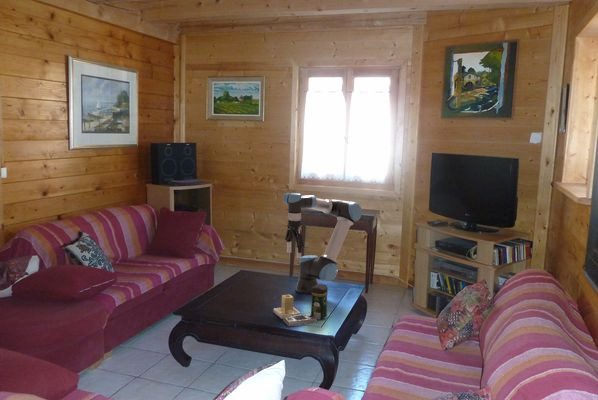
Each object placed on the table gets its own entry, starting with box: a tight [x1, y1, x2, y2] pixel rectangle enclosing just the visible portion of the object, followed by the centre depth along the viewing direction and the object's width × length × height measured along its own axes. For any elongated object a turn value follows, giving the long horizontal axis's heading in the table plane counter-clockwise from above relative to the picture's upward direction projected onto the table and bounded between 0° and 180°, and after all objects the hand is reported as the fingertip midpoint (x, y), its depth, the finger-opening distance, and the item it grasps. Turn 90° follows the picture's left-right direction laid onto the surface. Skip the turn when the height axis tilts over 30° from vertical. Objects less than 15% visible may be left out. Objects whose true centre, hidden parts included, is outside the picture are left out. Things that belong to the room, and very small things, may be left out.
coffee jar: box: [310, 283, 328, 321], centre depth 286 cm, size 10×8×19 cm
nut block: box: [280, 294, 294, 314], centre depth 289 cm, size 5×5×10 cm
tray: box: [273, 306, 302, 320], centre depth 290 cm, size 12×12×2 cm
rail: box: [282, 313, 317, 327], centre depth 279 cm, size 16×8×2 cm, turn 114°
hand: (293, 255), depth 305 cm, fingers open, 13 cm apart
